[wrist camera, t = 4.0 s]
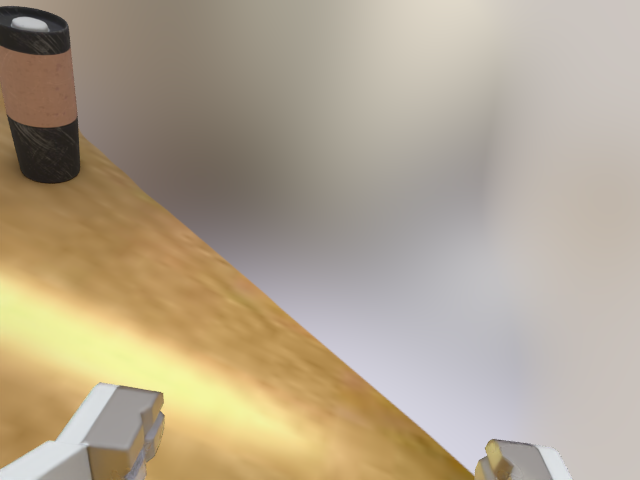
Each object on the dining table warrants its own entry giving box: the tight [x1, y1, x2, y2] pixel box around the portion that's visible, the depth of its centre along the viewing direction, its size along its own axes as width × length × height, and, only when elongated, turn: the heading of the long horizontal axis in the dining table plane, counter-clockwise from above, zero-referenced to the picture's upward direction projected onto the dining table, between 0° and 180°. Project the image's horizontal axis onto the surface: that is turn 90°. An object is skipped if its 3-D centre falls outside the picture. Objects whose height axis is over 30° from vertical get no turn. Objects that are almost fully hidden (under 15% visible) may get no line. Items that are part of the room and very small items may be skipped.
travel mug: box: [0, 6, 80, 183], centre depth 52 cm, size 8×8×20 cm
